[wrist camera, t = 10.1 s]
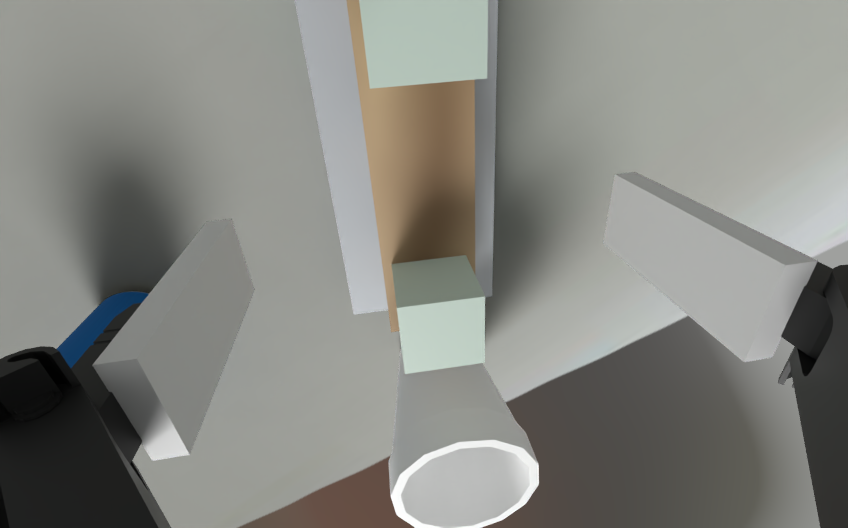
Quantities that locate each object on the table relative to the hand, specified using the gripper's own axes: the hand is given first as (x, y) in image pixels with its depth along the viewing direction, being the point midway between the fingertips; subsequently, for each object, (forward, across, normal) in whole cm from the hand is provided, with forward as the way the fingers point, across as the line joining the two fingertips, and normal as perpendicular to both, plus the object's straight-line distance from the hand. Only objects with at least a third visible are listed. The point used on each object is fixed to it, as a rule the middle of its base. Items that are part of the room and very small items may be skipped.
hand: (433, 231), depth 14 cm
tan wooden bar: (+11, +1, 0) cm, 11 cm away
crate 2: (+6, 0, -6) cm, 9 cm away
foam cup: (+15, +2, -19) cm, 24 cm away
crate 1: (+6, 0, +6) cm, 9 cm away
